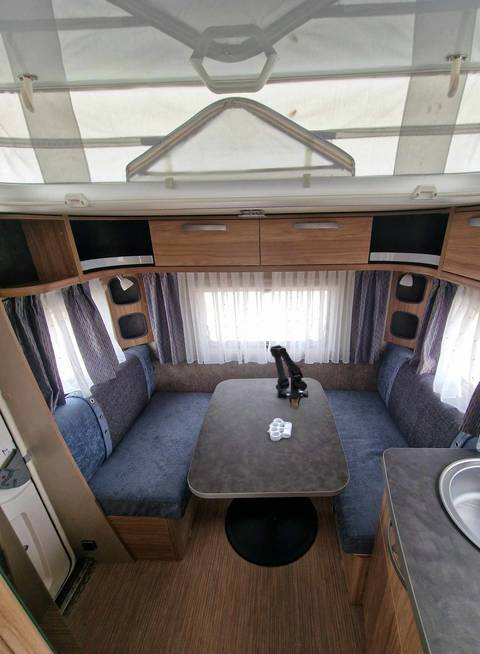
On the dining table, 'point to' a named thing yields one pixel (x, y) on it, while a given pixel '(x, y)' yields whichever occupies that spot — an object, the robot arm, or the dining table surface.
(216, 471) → the dining table surface
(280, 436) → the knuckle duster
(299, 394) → the robot arm
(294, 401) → the spice jar
